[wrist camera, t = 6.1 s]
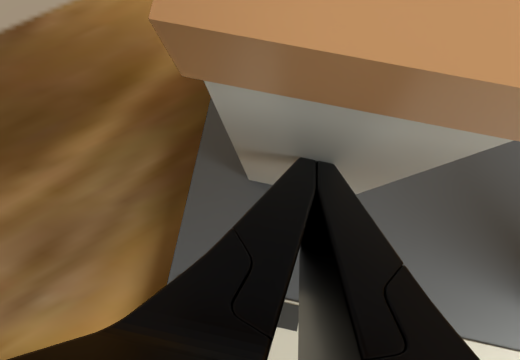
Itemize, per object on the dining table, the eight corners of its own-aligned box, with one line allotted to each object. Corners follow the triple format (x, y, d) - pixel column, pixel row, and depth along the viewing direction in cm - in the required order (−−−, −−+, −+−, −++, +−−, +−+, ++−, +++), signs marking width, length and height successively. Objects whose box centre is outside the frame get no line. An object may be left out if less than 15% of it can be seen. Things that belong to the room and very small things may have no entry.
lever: (344, 203, 15) (667, 114, 3) (244, 182, 15) (148, 19, 3) (354, 150, 15) (687, -137, 3) (256, 131, 15) (208, -208, 3)
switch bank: (658, 477, 15) (709, 510, 13) (157, 359, 16) (144, 375, 14) (681, 168, 17) (729, 161, 15) (222, 80, 18) (217, 64, 16)
